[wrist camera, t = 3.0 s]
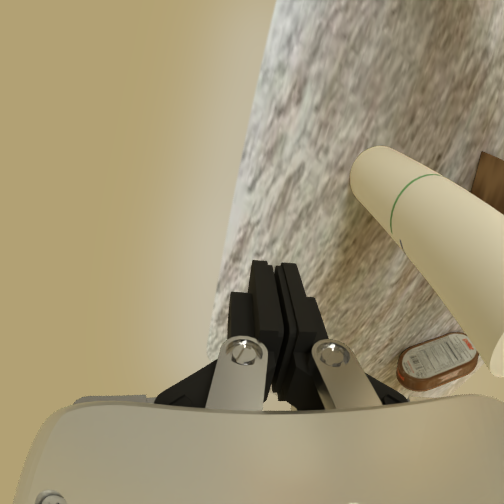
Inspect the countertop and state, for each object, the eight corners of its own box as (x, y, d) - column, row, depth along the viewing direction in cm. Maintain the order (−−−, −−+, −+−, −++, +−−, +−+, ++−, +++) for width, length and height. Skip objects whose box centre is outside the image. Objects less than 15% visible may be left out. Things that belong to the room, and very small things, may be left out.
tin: (389, 362, 48) (406, 400, 41) (390, 350, 47) (408, 389, 39) (463, 335, 47) (484, 368, 39) (466, 323, 45) (489, 356, 38)
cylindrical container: (366, 218, 35) (489, 394, 14) (338, 166, 32) (487, 329, 11) (415, 187, 34) (570, 327, 12) (391, 134, 31) (583, 243, 9)
